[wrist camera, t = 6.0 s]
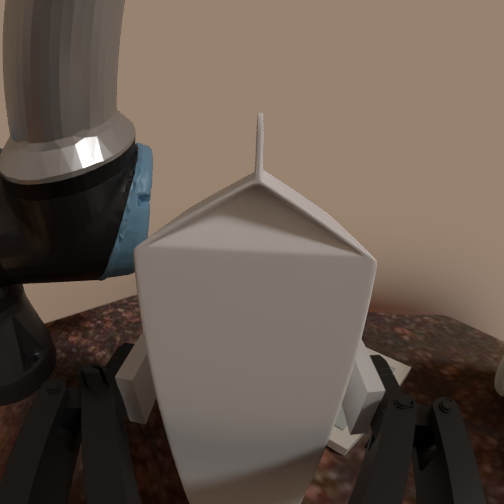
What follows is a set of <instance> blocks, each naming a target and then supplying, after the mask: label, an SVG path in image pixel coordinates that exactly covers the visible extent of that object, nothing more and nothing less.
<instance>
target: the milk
mask: <svg viewBox="0 0 504 504" xmlns="http://www.w3.org/2000/svg"><path fill="white" fill-rule="evenodd" d="M263 147H264V124H263V113H258V116H257V137H256V162H255V172H254V173H252V174H250V175H248V176H246V177H245V178H243V179H241V180H239V181H237V182H235V183H234V184H231V185H230V186H228V187H226V188H224V189H222V190H221V191H219V192H217V193H215V194H213V195H211V196H210V197H208V198H206V199H205V200H203V201H201V202H199V203H198V204H196V205H194V206H192V207H191V208H189V209H188V210H186V211H185V212H183V213H182V214H181V215H179V216H178V217H176V218H175V219H174V220H172V221H171V222H169V223H168V224H167V225H165V226H164V227H162V228H161V229H160V230H158V231H157V232H155V233H154V234H153V235H151V236H150V237H148V238H147V239H146V240H144V241H143V242H142V243H140V244H139V245H138V246H136V247H135V248H134V250H133V255H134V267H135V276H136V285H137V293H138V300H139V308H140V315H141V321H142V327H143V333H144V339H145V345H146V350H147V356H148V361H149V366H150V371H151V375H152V380H153V384H154V389H155V393H156V397H157V402H158V406H159V410H160V414H161V417H162V421H163V425H164V428H165V432H166V436H167V439H168V442H169V446H170V449H171V452H172V456H173V459H174V462H175V465H176V468H177V471H178V474H179V477H180V480H181V483H182V485H183V488H184V491H185V494H186V496H187V499H188V502H189V504H300V503H301V501H302V499H303V497H304V495H305V493H306V491H307V489H308V487H309V485H310V482H311V480H312V478H313V476H314V474H315V471H316V469H317V467H318V464H319V462H320V460H321V457H322V455H323V452H324V450H325V448H326V445H327V442H328V440H329V437H330V435H331V432H332V429H333V427H334V424H335V421H336V419H337V416H338V413H339V410H340V407H341V404H342V401H343V398H344V395H345V392H346V389H347V386H348V383H349V380H350V376H351V373H352V370H353V366H354V363H355V359H356V356H357V352H358V348H359V345H360V341H361V337H362V333H363V329H364V325H365V321H366V316H367V312H368V308H369V303H370V298H371V294H372V289H373V284H374V279H375V274H376V268H377V261H376V259H375V258H374V257H373V256H372V255H371V254H370V253H369V252H368V251H367V250H366V249H365V248H364V247H363V246H362V245H361V244H360V243H359V242H358V241H357V240H356V239H355V238H353V237H352V236H351V235H350V234H349V233H348V232H347V231H346V230H345V229H344V228H343V227H342V226H341V225H340V224H339V223H338V222H337V221H335V220H334V219H333V218H332V217H331V216H330V215H329V214H328V213H326V212H325V211H324V210H322V209H321V208H319V207H318V206H317V205H315V204H313V203H312V202H311V201H309V200H308V199H306V198H305V197H303V196H302V195H300V194H299V193H297V192H296V191H295V190H293V189H292V188H290V187H288V186H287V185H285V184H284V183H282V182H281V181H279V180H278V179H276V178H275V177H273V176H272V175H270V174H269V173H267V172H266V171H264V170H263Z"/></svg>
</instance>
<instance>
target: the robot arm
mask: <svg viewBox="0 0 504 504" xmlns="http://www.w3.org/2000/svg"><path fill="white" fill-rule="evenodd" d="M124 3H125V0H6V1H5V11H4V24H3V76H4V91H5V100H6V109H7V117H8V124H9V131H10V137H9V139H8V141H7V143H6V144H5V146H4V148H3V149H1V148H0V405H6V404H10V403H13V402H16V401H18V400H21V399H23V398H25V397H26V396H28V395H30V394H31V393H33V392H34V391H35V390H37V389H38V388H39V387H40V386H41V387H40V389H39V391H38V393H37V395H36V397H35V399H34V401H33V403H32V405H31V408H30V410H29V412H28V414H27V416H26V418H25V421H24V423H23V425H22V428H21V430H20V432H19V435H18V437H17V439H16V442H15V444H14V447H13V449H12V452H11V455H10V457H9V460H8V463H7V465H6V468H5V471H4V474H3V477H2V480H1V483H0V504H68V498H69V493H70V488H71V483H72V478H73V473H74V469H75V464H76V460H77V456H78V452H79V448H80V444H81V440H82V459H83V473H84V484H85V493H86V501H87V504H142V502H141V498H140V494H139V490H138V486H137V482H136V478H135V473H134V468H133V464H132V459H131V454H130V448H129V442H128V437H127V430H126V425H125V422H124V418H125V416H126V414H127V415H128V417H129V420H130V421H132V422H137V423H141V424H146V422H147V420H148V417H149V415H150V412H151V410H152V407H153V405H154V402H155V400H156V393H155V389H154V384H153V380H152V375H151V371H150V366H149V361H148V356H147V350H146V345H145V339H144V333H143V332H142V334H141V335H140V337H139V338H138V340H137V342H136V343H135V344H130V343H124V344H123V345H122V346H120V347H119V348H118V349H117V350H116V352H115V353H114V356H112V357H111V359H110V361H109V362H108V363H107V365H106V366H105V367H104V366H103V365H100V364H98V363H90V364H86V365H84V366H82V367H81V368H80V369H79V370H78V371H77V374H76V375H77V377H78V380H79V382H80V385H81V387H67V385H66V383H65V381H63V380H62V379H59V378H52V379H48V380H47V378H48V377H49V375H50V374H51V372H52V370H53V368H54V366H55V362H56V350H55V347H54V344H53V341H52V338H51V335H50V333H49V331H48V329H47V328H46V326H45V325H44V323H43V322H42V320H41V319H40V317H39V316H38V314H37V313H36V311H35V309H34V308H33V306H32V305H31V303H30V302H29V300H28V298H27V297H26V294H25V292H24V288H23V284H28V283H50V282H68V281H69V282H70V281H87V280H100V281H102V280H105V279H106V278H109V277H116V276H123V275H129V274H132V273H134V272H135V267H134V255H133V250H134V248H135V247H136V246H138V245H139V244H140V243H142V242H143V241H144V240H146V239H147V238H148V228H149V215H150V204H149V201H150V194H151V187H152V169H153V156H152V150H151V148H150V147H149V146H146V145H142V144H139V143H136V144H135V127H134V125H133V123H132V122H131V121H130V120H129V119H128V118H126V117H125V116H124V115H123V114H121V113H120V112H119V111H118V110H117V108H116V95H117V71H118V56H119V55H118V54H119V44H120V34H121V25H122V16H123V10H124ZM46 380H47V381H46ZM342 407H343V410H344V414H345V418H346V422H347V425H348V429H349V433H350V435H355V434H364V433H367V431H368V429H369V426H371V429H372V432H373V433H372V435H371V437H370V438H369V440H368V442H367V444H366V446H365V448H367V449H366V453H365V456H364V459H363V463H362V466H361V469H360V472H359V475H358V478H357V481H356V484H355V486H354V489H353V492H352V495H351V497H350V500H349V502H348V504H402V501H403V497H404V493H405V488H406V483H407V478H408V473H409V467H410V461H411V455H412V459H413V467H414V476H415V486H416V497H417V504H486V502H485V497H484V492H483V488H482V483H481V479H480V475H479V471H478V467H477V463H476V459H475V456H474V452H473V449H472V445H471V442H470V439H469V436H468V432H467V429H466V426H465V423H464V420H463V417H462V415H461V412H460V409H459V406H458V405H457V403H456V402H455V401H454V400H453V399H450V398H448V397H440V398H437V399H436V400H435V401H434V403H433V405H427V404H418V403H416V401H415V400H414V398H413V397H411V396H410V395H408V394H405V393H403V392H402V390H401V388H400V386H399V384H398V382H397V380H396V378H395V376H394V374H393V372H392V370H391V369H390V366H389V364H388V363H387V361H386V360H385V359H384V358H383V357H382V356H381V355H369V354H368V351H367V349H366V347H365V345H364V343H363V341H362V339H361V341H360V345H359V348H358V352H357V356H356V359H355V363H354V366H353V370H352V373H351V376H350V380H349V383H348V386H347V389H346V392H345V395H344V398H343V401H342Z"/></svg>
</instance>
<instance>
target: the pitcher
mask: <svg viewBox="0 0 504 504" xmlns="http://www.w3.org/2000/svg"><path fill="white" fill-rule="evenodd" d="M494 385H495V389H496V391H497V393H498V394H499V395H500V396H502V397H504V356H503V358H502V360H501V362H500V364H499V366H498V369H497V372H496V375H495V382H494Z"/></svg>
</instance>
